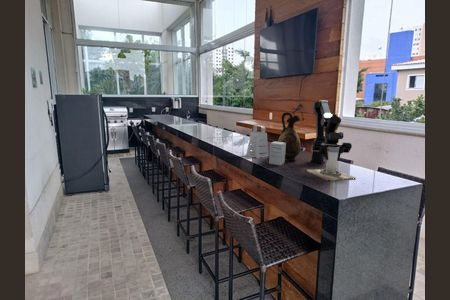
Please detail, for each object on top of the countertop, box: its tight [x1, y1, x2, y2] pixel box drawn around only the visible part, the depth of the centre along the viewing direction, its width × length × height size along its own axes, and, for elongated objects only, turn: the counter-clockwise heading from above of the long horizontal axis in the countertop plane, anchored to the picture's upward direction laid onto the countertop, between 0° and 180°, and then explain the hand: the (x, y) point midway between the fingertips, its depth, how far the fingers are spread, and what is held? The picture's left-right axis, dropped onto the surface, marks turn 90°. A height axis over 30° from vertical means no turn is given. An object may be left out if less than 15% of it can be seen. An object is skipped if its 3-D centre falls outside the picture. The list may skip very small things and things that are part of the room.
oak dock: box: [306, 168, 356, 182], centre depth 142 cm, size 17×17×2 cm
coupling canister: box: [325, 146, 339, 173], centre depth 141 cm, size 5×5×13 cm
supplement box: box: [268, 140, 286, 166], centre depth 161 cm, size 7×7×13 cm
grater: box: [245, 124, 269, 159], centre depth 180 cm, size 10×10×20 cm
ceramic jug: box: [276, 111, 302, 161], centre depth 175 cm, size 17×15×30 cm
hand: (332, 160), depth 139 cm, fingers closed on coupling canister, 5 cm apart
